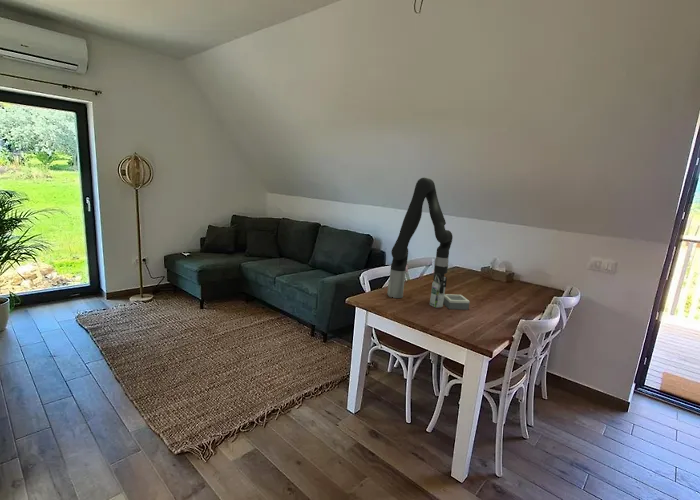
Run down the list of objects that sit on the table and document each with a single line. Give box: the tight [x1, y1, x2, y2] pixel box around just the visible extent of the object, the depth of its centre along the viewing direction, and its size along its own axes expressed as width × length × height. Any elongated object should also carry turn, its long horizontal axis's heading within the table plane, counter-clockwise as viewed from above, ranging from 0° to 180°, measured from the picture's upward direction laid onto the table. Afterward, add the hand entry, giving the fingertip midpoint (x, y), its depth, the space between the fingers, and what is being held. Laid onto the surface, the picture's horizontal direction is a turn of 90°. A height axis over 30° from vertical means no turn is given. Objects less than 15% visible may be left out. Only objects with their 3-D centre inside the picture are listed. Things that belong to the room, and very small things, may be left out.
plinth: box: [443, 293, 470, 311], centre depth 223 cm, size 12×12×5 cm
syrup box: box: [429, 281, 446, 309], centre depth 219 cm, size 6×6×14 cm
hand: (438, 291), depth 219 cm, fingers open, 8 cm apart
